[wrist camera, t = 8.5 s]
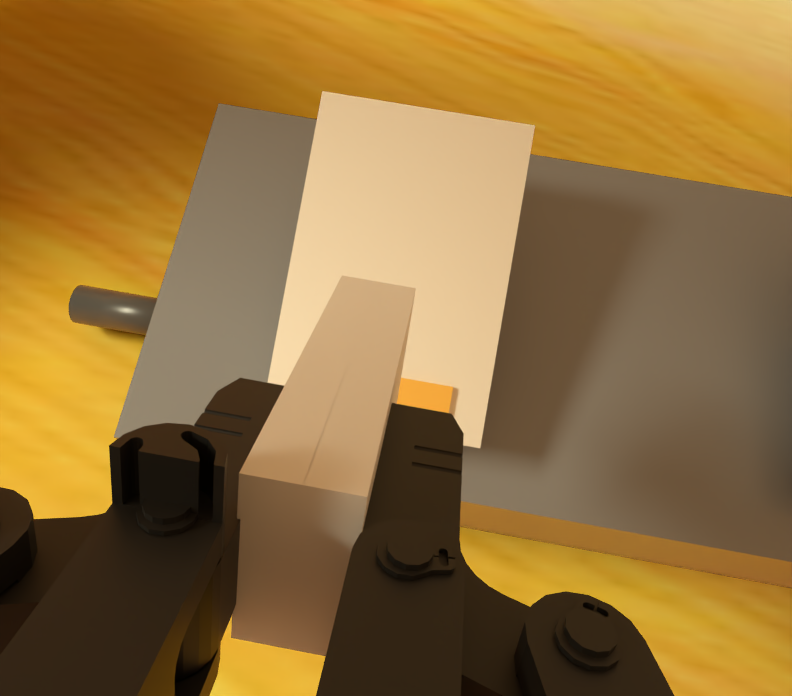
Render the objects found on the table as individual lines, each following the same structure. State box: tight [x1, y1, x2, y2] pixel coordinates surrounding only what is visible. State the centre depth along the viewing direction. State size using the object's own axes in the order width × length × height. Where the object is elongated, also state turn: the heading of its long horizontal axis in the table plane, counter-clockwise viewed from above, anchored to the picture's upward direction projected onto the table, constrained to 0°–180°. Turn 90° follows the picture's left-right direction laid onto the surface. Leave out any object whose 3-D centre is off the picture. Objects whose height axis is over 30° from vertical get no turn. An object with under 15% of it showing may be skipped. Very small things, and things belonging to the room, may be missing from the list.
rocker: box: [267, 91, 535, 448], centre depth 20 cm, size 6×9×2 cm, turn 170°
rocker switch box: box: [69, 103, 792, 588], centre depth 25 cm, size 36×12×9 cm, turn 80°
